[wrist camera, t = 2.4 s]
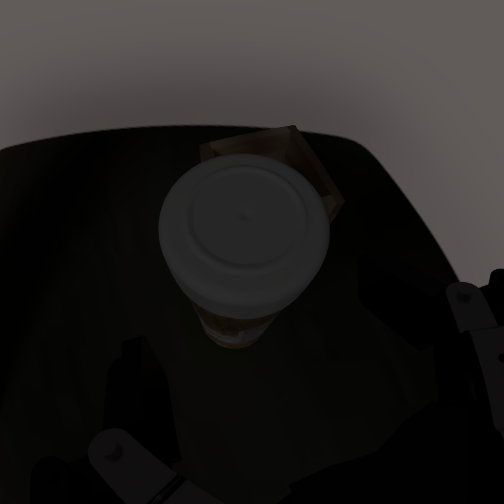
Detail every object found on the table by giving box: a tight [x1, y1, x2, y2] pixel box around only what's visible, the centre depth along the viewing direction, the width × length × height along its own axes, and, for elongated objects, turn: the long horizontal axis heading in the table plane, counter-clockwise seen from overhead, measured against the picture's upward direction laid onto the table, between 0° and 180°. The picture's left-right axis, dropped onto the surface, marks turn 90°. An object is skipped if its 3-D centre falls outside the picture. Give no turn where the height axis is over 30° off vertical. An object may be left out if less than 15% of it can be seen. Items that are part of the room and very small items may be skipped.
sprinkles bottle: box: [159, 154, 330, 349], centre depth 13 cm, size 5×5×14 cm
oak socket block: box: [200, 125, 345, 225], centre depth 21 cm, size 8×8×4 cm
